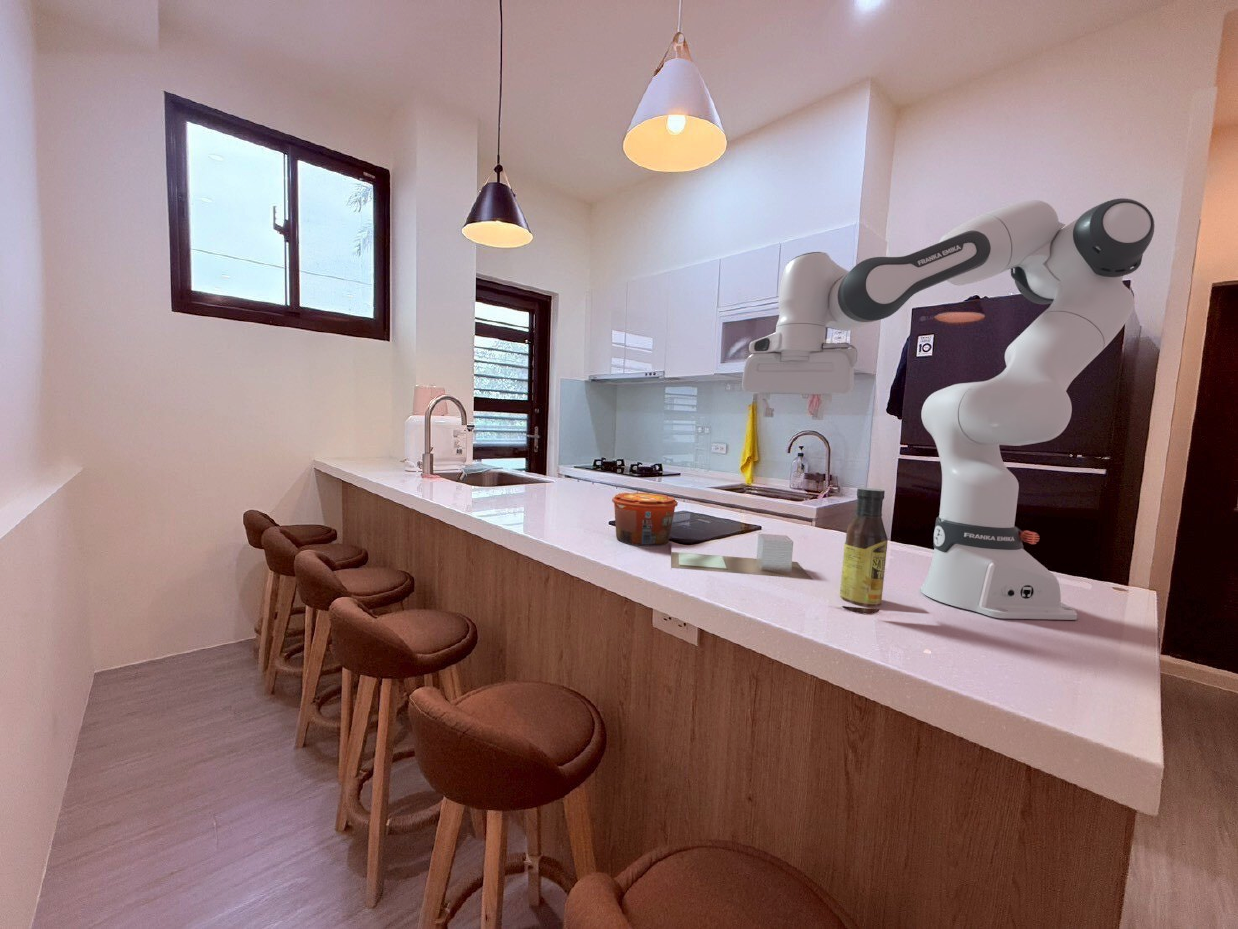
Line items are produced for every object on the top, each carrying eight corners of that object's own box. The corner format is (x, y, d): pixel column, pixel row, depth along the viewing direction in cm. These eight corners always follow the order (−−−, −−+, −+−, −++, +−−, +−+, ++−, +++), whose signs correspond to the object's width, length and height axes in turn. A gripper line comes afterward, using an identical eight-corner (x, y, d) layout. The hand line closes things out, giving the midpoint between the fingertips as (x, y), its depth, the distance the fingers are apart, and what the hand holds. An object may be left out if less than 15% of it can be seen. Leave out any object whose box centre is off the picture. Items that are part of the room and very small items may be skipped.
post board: (796, 568, 107) (798, 540, 107) (811, 586, 95) (814, 555, 95) (671, 558, 110) (672, 531, 109) (670, 575, 98) (672, 544, 97)
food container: (686, 540, 129) (689, 497, 128) (654, 552, 115) (657, 504, 115) (632, 530, 137) (634, 490, 137) (596, 539, 124) (599, 495, 123)
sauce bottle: (876, 619, 81) (888, 493, 79) (834, 608, 84) (845, 488, 83) (884, 608, 86) (896, 489, 84) (844, 599, 90) (855, 485, 88)
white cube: (784, 564, 104) (786, 535, 104) (790, 572, 99) (793, 541, 98) (756, 562, 105) (758, 533, 104) (761, 570, 99) (763, 539, 99)
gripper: (863, 344, 92) (854, 422, 94) (755, 348, 105) (749, 416, 106) (853, 338, 87) (845, 420, 89) (741, 343, 100) (735, 415, 101)
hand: (792, 418), depth 97 cm, fingers open, 8 cm apart
